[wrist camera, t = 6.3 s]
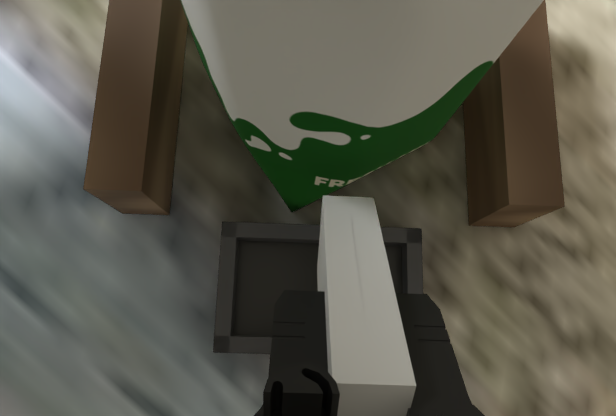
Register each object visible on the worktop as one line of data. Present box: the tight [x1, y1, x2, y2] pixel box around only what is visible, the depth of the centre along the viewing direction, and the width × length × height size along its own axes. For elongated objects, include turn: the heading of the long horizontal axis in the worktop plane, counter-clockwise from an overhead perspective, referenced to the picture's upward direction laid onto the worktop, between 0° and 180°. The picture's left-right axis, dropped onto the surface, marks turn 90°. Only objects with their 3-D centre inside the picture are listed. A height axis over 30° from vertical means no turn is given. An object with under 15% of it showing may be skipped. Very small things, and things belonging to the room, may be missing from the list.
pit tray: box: [213, 222, 423, 354], centre depth 19 cm, size 8×5×2 cm, turn 88°
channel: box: [83, 0, 564, 227], centre depth 20 cm, size 17×11×4 cm, turn 88°
